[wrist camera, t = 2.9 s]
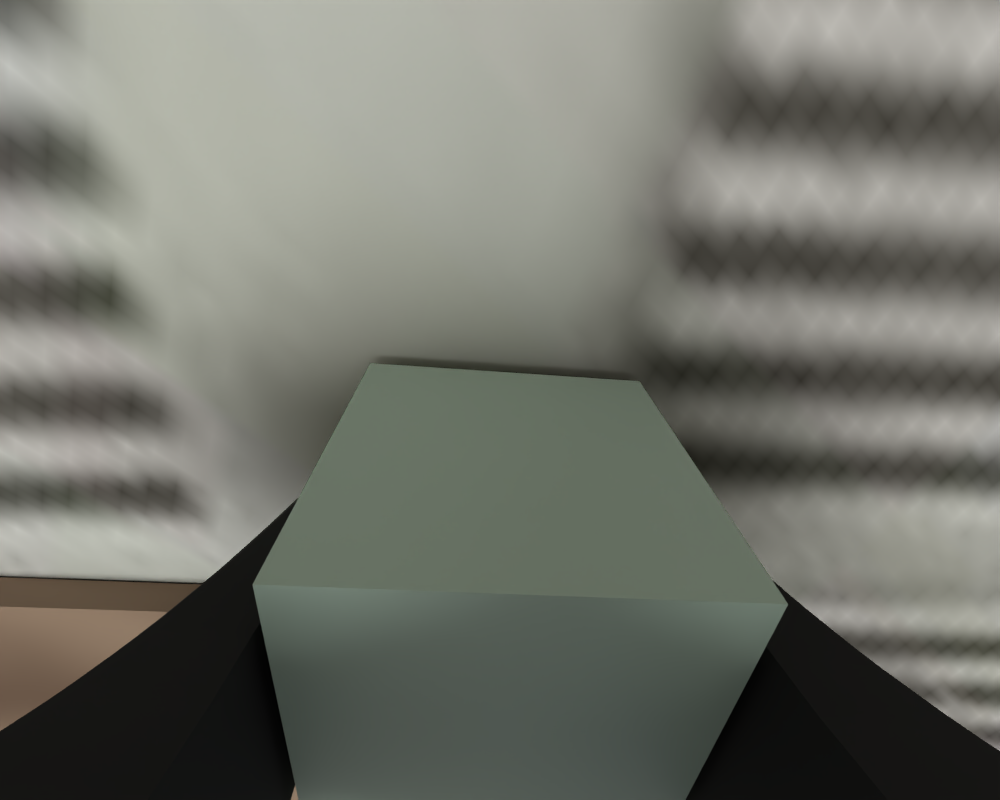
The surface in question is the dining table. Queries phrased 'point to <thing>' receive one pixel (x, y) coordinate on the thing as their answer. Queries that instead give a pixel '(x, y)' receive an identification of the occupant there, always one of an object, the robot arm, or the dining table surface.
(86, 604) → the walnut board
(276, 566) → the green cube
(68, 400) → the dining table surface
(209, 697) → the robot arm
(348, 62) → the dining table surface
